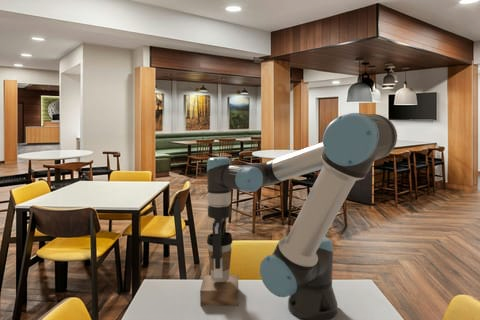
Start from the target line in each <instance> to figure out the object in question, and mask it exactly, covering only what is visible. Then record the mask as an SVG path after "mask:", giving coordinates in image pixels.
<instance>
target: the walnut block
mask: <svg viewBox="0 0 480 320" xmlns="http://www.w3.org/2000/svg"><path fill="white" fill-rule="evenodd" d="M201 281H202V282H201V285H200V290H199V295H200V296H199V299H200V303H199V304H200V306H202V307H205V306H207V307H209V306H212V307H213V306H214V307H216V306H217V307H219V306H220V307H221V306H222V307H224V306H226V307H228V306H229V307H231V306H232V307H233V306H235V307H236V306H239V275H238V274H233V275H232V274H231V275H230V274H229V279H228V280H227V281H224V282H215V281H213V280H212V279H211V274H209V275H207V274H206V275H203V277H202V280H201Z"/></svg>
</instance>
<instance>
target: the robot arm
mask: <svg viewBox="0 0 480 320" xmlns="http://www.w3.org/2000/svg"><path fill="white" fill-rule="evenodd" d="M397 142H398V132H397V129H396V126H395V124H394V123H393V122H392V121H391V120H390V119H389V118H387V117H386V116H384V115H381V114H377V113H376V114H374V113H373V114H371V113H370V114H369V113H361V112H360V113H359V112H352V113H347V114H344V115H340V116H337V117H336V118H334V119H333V120H331V122H330V123H329V124H328V125H327V127H326V128H325V130H324V132H323V136H322V141H321V142H318V143H316V144H313V145H310V146H307V147H305V148H302V149H298V150H296V151H294V152H291V153H287V154H284V155H282V156H279V157H276V158H274V159H271V160H268V161H265V162H261V163H254V164H253V163H252V164H246V165H245V164H244V165H240V164H239V165H237V164H232V163H231V158H229V157H226V156H217V157H214V156H213V157H209V158H208V159H207V163H206V164H207V166H206V174H207V175H206V177H207V182H206V183H207V185H206V186H207V193H206V195H205V197H206V198H207V204H208V206H207V216H208V218H210V219H214V220H213V222H212V233H213V256H211V258H212V259H214V278H222V277H223V269H222V237H223V236H224V233H225V232H227V228H226V227H227V219H228V218H230V217H231V215H232V207H231V204H232V203H231V202H232V190H237V191H242V192H246V193H247V192H251V193H254V192H257V191H258V190H259V189H260V188H261V187H265V186H270V185H277V184H279V183H281V182H283V181H287V180H290V179H293V178H296V177H299V176H303V175H307V174H310V173H313V172H316V171H319V170H320V172H319V173H318V176H317V178H316V179H315V181H314V183H313V185H312V188H311V189H310V191H309V192H308V196H307V197H306V199H305V201H304V203H303V205H302V207H301V209H300V211H299V212H298V215H297V217H296V219H295V221H294V223H293V225H292V227H291V228H290V231H289V232H288V235H287V236H283V237H281V238H280V240H278V242H277V244H276V247H274V250H273V252H272V253H271V254H269V255H267V256H265V257H264V258H263V259H262V260H261V262H260V265H259V275H260V277H261V281H262V283H263V285H264V286H265V288H266V289H267V290H268V291H269V292H270V293H271V294H272V295H274V296H276V297H277V298H278V297H279V298H287V297H288V300H287V301H288V302H287V309H288V310H289V312H290V313H291V314H292V315H294V316H295V317H297V318H298V319H299V318H300V319H303V320H331V319H333V318H335V316H337V314H338V300H337V298H336V295H335V291H334V287H333V265H334V262H333V261H334V260H333V258H334V249H333V245H334V244H333V241H332V240H331V239H329V238H328V237H326V235H327V233H328V231H329V230H330V228H331V227H332V224H333V222H334V221H335V219H336V217H337V215H338V213H339V212H340V210H341V208H342V207H343V204H344V202H345V201H346V200H347V198H348V195H349V193H350V192H351V189H352V188H354V187H353V186H354V185H355V183H356V181H360V180H363V179H365V178H366V177H367V175H368V173H369V171H370V170H371V168H372V166H373V164H374V162H375V161H377V160H381V159H383V158H385V157H387V156H388V155H389V154H391V153H392V151H394V149H395V148H396V145H397Z"/></svg>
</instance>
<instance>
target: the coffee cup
mask: <svg viewBox="0 0 480 320" xmlns="http://www.w3.org/2000/svg"><path fill="white" fill-rule="evenodd" d="M232 235H233V234H232V233H231V232H228V231H226V232H225V233H224V236H223V237H222V269H223V277H222V278H214V259H212V258H211V256H213V232H211V233H210V234H208V235H207V239H206V243H207V244H208V248H207V252H208V253H207V254H208V259H209V260H208V261H209V268H210V275H211V279H212V280H213V281H215V282H224V281H227V280H228V279H229V275H230V269H231V257H232V244H233V237H232Z"/></svg>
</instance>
